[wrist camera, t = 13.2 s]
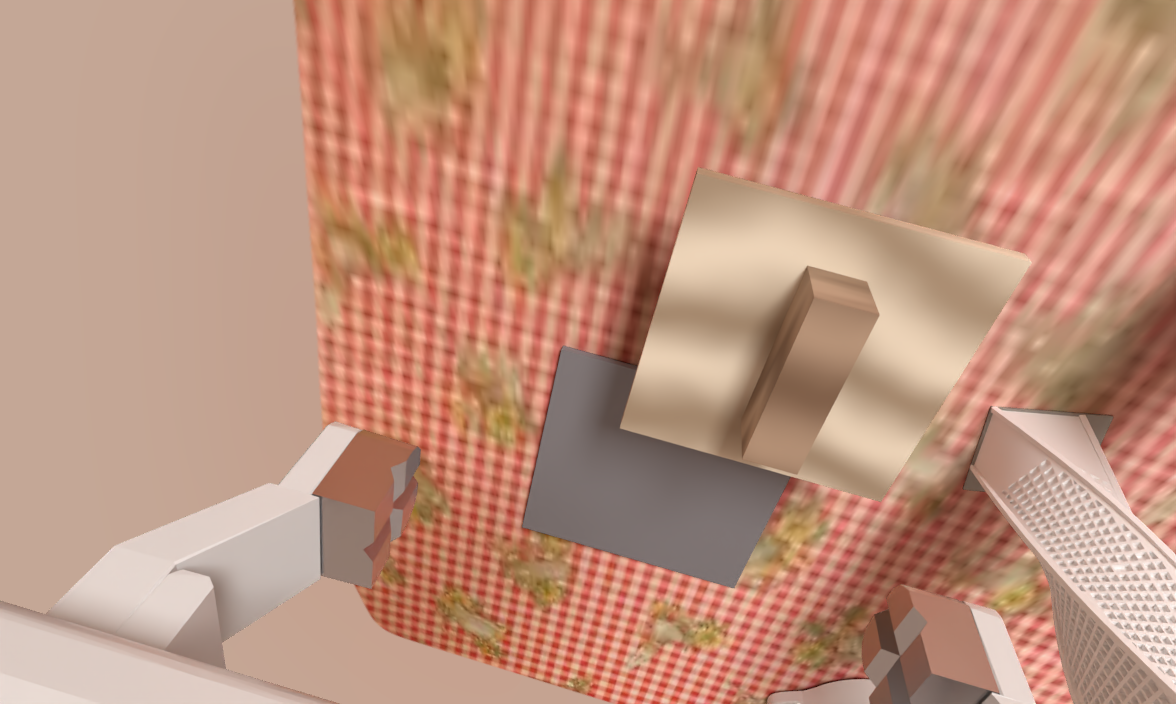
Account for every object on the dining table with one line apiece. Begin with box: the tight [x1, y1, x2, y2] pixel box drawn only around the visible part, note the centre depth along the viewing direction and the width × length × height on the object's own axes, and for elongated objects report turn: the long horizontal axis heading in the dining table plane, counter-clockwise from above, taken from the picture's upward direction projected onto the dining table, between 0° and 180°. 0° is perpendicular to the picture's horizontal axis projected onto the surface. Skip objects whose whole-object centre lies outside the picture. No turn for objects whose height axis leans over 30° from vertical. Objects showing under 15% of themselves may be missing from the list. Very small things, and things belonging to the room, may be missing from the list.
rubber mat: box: [522, 346, 791, 588], centre depth 51 cm, size 18×18×1 cm
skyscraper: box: [963, 406, 1176, 704], centre depth 33 cm, size 8×8×28 cm
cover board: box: [620, 167, 1032, 502], centre depth 35 cm, size 16×16×4 cm
